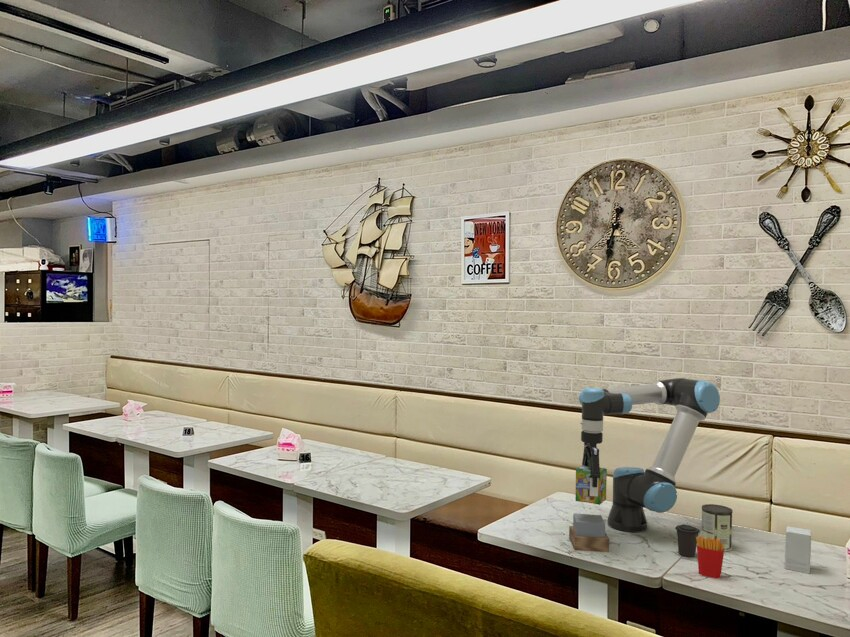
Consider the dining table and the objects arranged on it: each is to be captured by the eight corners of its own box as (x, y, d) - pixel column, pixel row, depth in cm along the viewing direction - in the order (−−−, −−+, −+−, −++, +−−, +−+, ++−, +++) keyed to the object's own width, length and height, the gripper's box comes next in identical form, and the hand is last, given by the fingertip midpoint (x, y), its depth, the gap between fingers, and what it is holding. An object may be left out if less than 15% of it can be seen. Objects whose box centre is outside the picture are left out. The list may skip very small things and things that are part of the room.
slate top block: (600, 528, 231) (601, 515, 231) (605, 538, 221) (605, 523, 221) (573, 526, 232) (573, 513, 232) (576, 536, 222) (576, 521, 222)
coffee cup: (680, 548, 225) (681, 521, 225) (703, 555, 219) (703, 526, 219) (670, 554, 219) (671, 525, 219) (693, 561, 213) (694, 532, 213)
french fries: (723, 575, 202) (725, 538, 202) (722, 580, 198) (723, 542, 198) (695, 569, 206) (696, 533, 206) (693, 573, 203) (694, 536, 203)
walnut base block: (601, 541, 232) (602, 527, 232) (609, 553, 220) (609, 539, 220) (569, 539, 233) (569, 525, 233) (574, 551, 221) (574, 537, 221)
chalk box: (599, 505, 220) (601, 463, 220) (574, 501, 224) (575, 460, 224) (607, 499, 227) (608, 459, 227) (582, 495, 232) (583, 455, 232)
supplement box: (810, 574, 205) (811, 535, 205) (784, 568, 209) (785, 531, 209) (810, 566, 211) (811, 529, 211) (785, 561, 215) (786, 525, 215)
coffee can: (711, 539, 235) (713, 502, 235) (737, 549, 227) (738, 510, 227) (694, 544, 230) (695, 506, 230) (720, 553, 221) (721, 514, 221)
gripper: (575, 425, 238) (573, 482, 238) (588, 436, 214) (586, 500, 214) (595, 426, 238) (593, 483, 238) (610, 437, 214) (608, 501, 214)
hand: (590, 491), depth 226 cm, fingers closed on chalk box, 12 cm apart
